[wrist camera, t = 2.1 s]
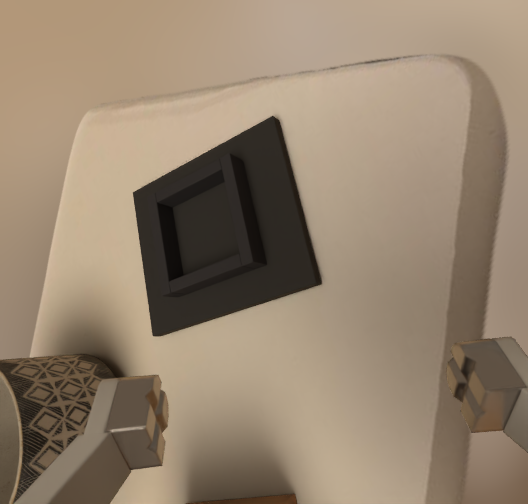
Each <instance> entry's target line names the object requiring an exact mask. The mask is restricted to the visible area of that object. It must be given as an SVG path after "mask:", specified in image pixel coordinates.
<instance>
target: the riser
mask: <svg viewBox="0 0 528 504" xmlns="http://www.w3.org/2000/svg"><path fill="white" fill-rule="evenodd" d="M186 504H297V502H296V497H295V494H290V495H278V496H266V497H254V498H242V499H230V500H218V501H207V502H195V503H186Z"/></svg>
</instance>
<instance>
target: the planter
mask: <svg viewBox="0 0 528 504" xmlns="http://www.w3.org/2000/svg"><path fill="white" fill-rule="evenodd" d="M112 378H116V377H115V376H114V374H113V373H112V371H111V370H110V369H109V368H108V367H107V366H106V365H105V364H104V363H103V362H102V361H100V360H99V359H97V358H95V357H93V356H90V355H85V354H77V355H63V356H48V357H34V358H19V359H6V360H0V504H14V503H15V502H16V501H17V500H18V499H19V498H20V496H21V495H22V494H23V493H24V492H25V491H26V490H27V489H28V488H29V487H30V486H31V485H32V484H33V483H34V482H35V481H36V480H37V478H38V477H39V476H40V475H41V474H42V473H43V472H44V471H45V470H46V469H47V468H48V467H49V466H50V465H51V464H52V463H53V462H54V461H55V459H56V458H57V457H58V456H59V455H60V454H61V453H62V452H63V451H64V450H65V449H66V448H67V447H68V446H69V445H70V444H71V443H72V441H73V440H74V439H75V438H76V437H77V436H79V435H84V432H85V428H86V425H87V422H88V419H89V415H90V412H91V409H92V405H93V402H94V399H95V395H96V392H97V389H98V385H99V384H100V382H101V381H102V379H112Z"/></svg>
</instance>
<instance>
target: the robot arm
mask: <svg viewBox="0 0 528 504" xmlns="http://www.w3.org/2000/svg"><path fill="white" fill-rule="evenodd" d="M451 354H452V356H453V358H452V359H451V360H450V361H449V362H448V363H447V368H446V375H447V382H448V385H449V388H450V390H451V392H452V394H453V396H454V397H455V398H457V399H458V400H459V401H461V402H462V407H461V410H460V411H461V413H462V415H463V417H464V419H465V421H466V423H467V425H468V427H469V429H470V431H471V433H476V432H487V431H501V430H504V431H503V432H504V433H505V434H506V435H507V436H509V437H510V438H511V439H512V440H513V441H515V442H516V443H517V444H518V445H519V446H520V447H522V448H523V449H524V450H525V451H526V452H527V453H528V357H527V355H526V354H525V353H524V351H523V350H522V349H521V347H520V346H519V344H518V343H517V342H516V340H515V339H513V338H512V337H502V338H493V339H481V340H472V341H464V342H456V343H454V344H453V345H452V348H451ZM161 383H162V382H161V380H160V377H159V375H148V376H135V377H123V378H112V379H102V381H101V382H100V384H99V385H98V389H97V392H96V395H95V399H94V402H93V405H92V409H91V412H90V415H89V419H88V422H87V425H86V428H85V432H84V435H79V436H77V437H76V438H75V439H74V440H73V441H72V443H71V444H70V445H69V446H68V447H67V448H66V449H65V450H64V451H63V452H62V453H61V454H60V455H59V456H58V457H57V458H56V459H55V461H54V462H53V463H52V464H51V465H50V466H49V467H48V468H47V469H46V470H45V471H44V472H43V473H42V474H41V475H40V476H39V477H38V478H37V480H36V481H35V482H34V483H33V484H32V485H31V486H30V487H29V488H28V489H27V490H26V491H25V492H24V493H23V494H22V495H21V496H20V498H19V499H18V500H17V501H16V502H15V503H14V504H110V502H111V501H112V499H113V498H114V496H115V495H116V493H117V492H118V490H119V489H120V487H121V486H122V484H123V483H124V481H125V480H126V479H127V477H128V476H129V474H130V473H131V471H130V470H134V469H141V468H149V467H156V466H162V463H163V456H164V449H165V440H164V437H163V434H162V433H163V431H164V430H165V429H166V428H167V426H168V417H169V413H168V400H167V396H166V393H165V392H164V391H162V390H161Z"/></svg>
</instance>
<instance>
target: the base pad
mask: <svg viewBox="0 0 528 504" xmlns="http://www.w3.org/2000/svg"><path fill="white" fill-rule="evenodd" d="M133 197H134V204H135V211H136V218H137V226H138V233H139V240H140V247H141V254H142V261H143V269H144V276H145V283H146V290H147V297H148V304H149V312H150V319H151V326H152V333H153V336H163V335H166V334H169V333H172V332H175V331H178V330H181V329H185V328H188V327H191V326H194V325H197V324H200V323H203V322H206V321H209V320H212V319H215V318H219V317H222V316H225V315H228V314H231V313H234V312H237V311H240V310H243V309H246V308H249V307H253V306H256V305H259V304H262V303H265V302H268V301H271V300H274V299H277V298H280V297H284V296H287V295H290V294H293V293H296V292H299V291H302V290H305V289H308V288H311V287H314V286H318V285H321V280H320V276H319V272H318V269H317V265H316V261H315V257H314V253H313V249H312V246H311V242H310V238H309V234H308V230H307V226H306V223H305V219H304V215H303V211H302V207H301V203H300V200H299V196H298V192H297V188H296V184H295V180H294V177H293V173H292V169H291V165H290V161H289V157H288V154H287V150H286V146H285V142H284V138H283V134H282V131H281V127H280V123H279V120H278V119H277V118H275V117H274V116H272V117H270V118H268V119H266V120H264V121H263V122H261V123H259V124H257V125H255V126H253V127H252V128H250V129H248V130H246V131H244V132H242V133H241V134H239V135H237V136H235V137H233V138H232V139H230V140H228V141H226V142H224V143H222V144H221V145H219V146H217V147H215V148H213V149H211V150H210V151H208V152H206V153H204V154H202V155H200V156H199V157H197V158H195V159H193V160H191V161H190V162H188V163H186V164H184V165H182V166H180V167H179V168H177V169H175V170H173V171H171V172H169V173H168V174H166V175H164V176H162V177H160V178H159V179H157V180H155V181H153V182H151V183H149V184H148V185H146V186H144V187H142V188H140V189H138V190H137V191H135V192H133Z"/></svg>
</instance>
